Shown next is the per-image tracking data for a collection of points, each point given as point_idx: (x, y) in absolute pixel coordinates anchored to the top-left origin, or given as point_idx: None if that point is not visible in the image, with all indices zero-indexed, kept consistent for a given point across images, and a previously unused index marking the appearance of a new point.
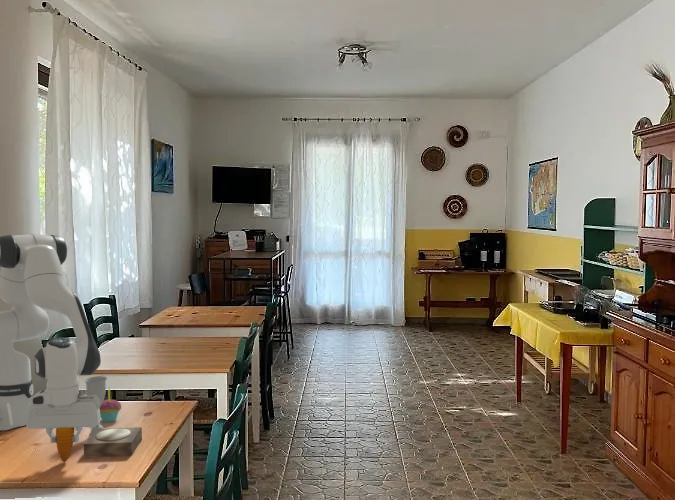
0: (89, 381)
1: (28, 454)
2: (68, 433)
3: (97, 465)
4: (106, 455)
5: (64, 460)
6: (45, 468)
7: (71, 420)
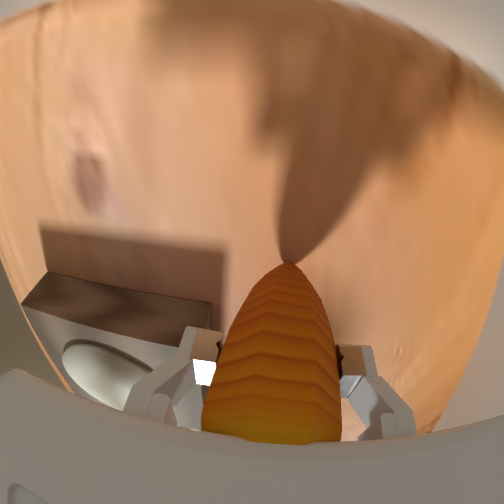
0: None
1: (420, 356)
2: (231, 385)
3: (114, 195)
4: (120, 290)
5: (285, 263)
6: (373, 210)
7: (169, 492)
